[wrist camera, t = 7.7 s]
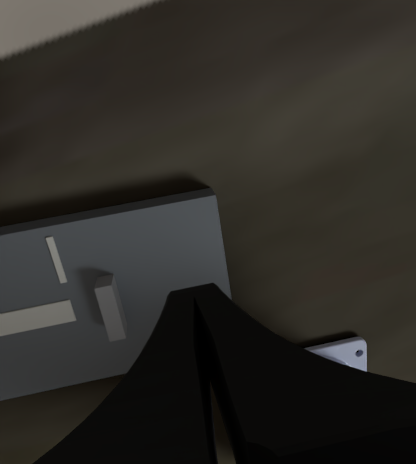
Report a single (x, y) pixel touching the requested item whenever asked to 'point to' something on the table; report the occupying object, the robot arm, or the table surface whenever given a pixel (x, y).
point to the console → (98, 286)
